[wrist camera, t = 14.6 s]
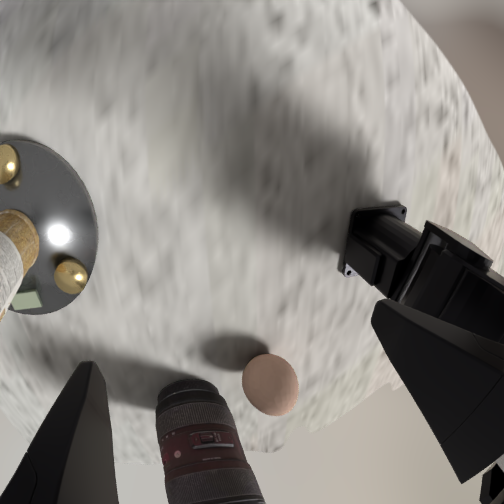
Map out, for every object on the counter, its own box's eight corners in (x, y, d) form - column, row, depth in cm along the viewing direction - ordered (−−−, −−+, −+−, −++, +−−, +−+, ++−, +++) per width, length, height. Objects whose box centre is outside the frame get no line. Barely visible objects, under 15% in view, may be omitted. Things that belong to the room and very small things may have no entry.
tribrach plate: (82, 119, 14) (75, 120, 13) (116, 296, 20) (115, 311, 19) (-58, 167, 11) (-71, 174, 9) (-11, 313, 17) (-17, 326, 15)
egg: (255, 381, 30) (277, 430, 25) (224, 365, 27) (244, 422, 22) (291, 353, 30) (320, 402, 24) (263, 334, 27) (291, 389, 21)
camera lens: (134, 395, 26) (155, 530, 14) (196, 363, 26) (241, 511, 14) (181, 422, 30) (211, 533, 18) (237, 395, 31) (284, 511, 18)
